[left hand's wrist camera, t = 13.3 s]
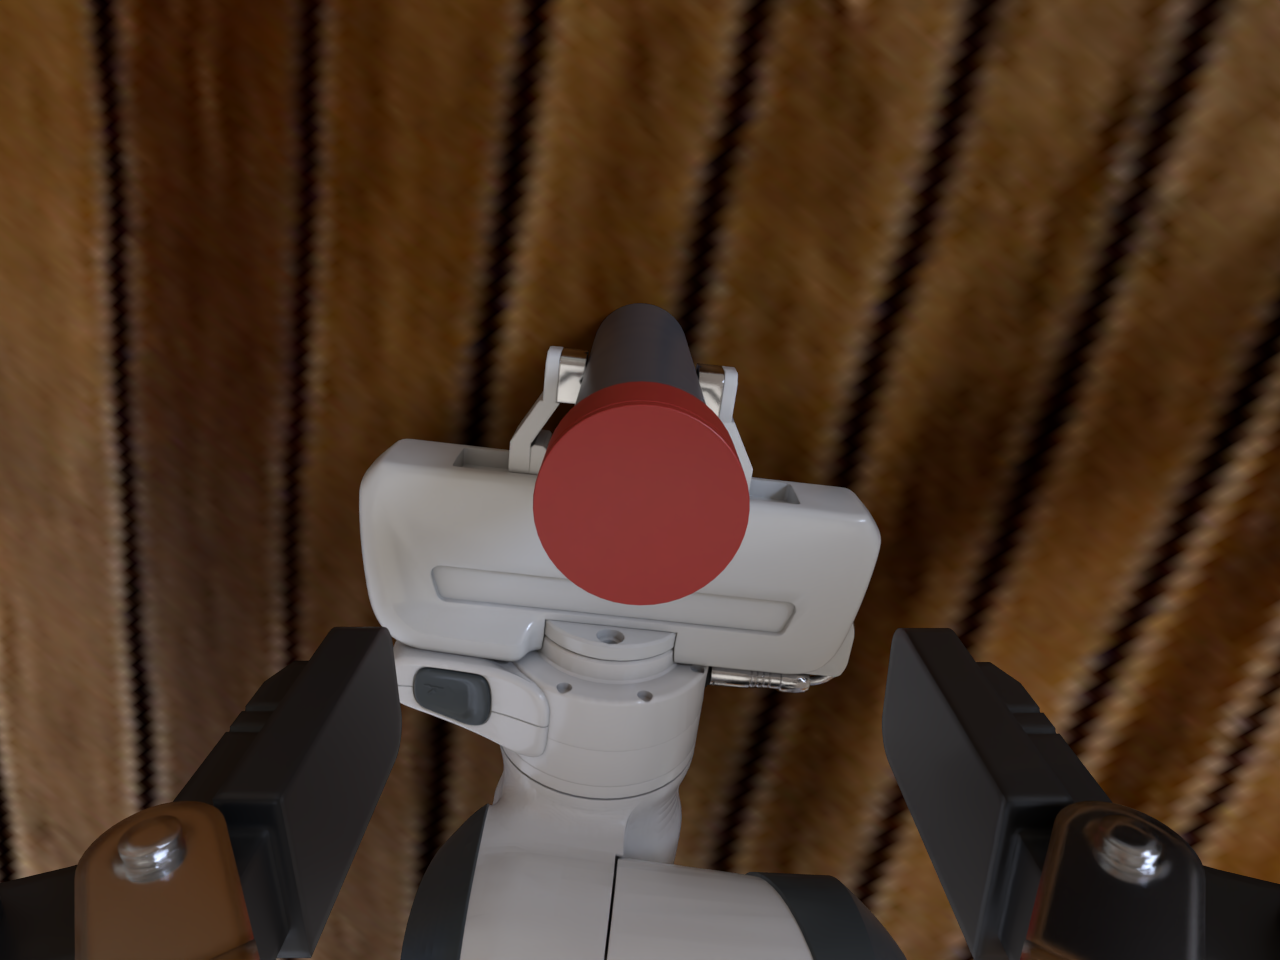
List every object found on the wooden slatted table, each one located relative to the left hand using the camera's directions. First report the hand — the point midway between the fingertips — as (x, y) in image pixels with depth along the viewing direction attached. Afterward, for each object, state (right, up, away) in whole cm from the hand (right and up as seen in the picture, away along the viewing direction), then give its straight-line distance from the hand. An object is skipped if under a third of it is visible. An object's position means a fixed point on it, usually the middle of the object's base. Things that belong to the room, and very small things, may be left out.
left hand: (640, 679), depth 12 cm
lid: (0, +2, +7) cm, 7 cm away
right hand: (0, +7, +18) cm, 19 cm away
